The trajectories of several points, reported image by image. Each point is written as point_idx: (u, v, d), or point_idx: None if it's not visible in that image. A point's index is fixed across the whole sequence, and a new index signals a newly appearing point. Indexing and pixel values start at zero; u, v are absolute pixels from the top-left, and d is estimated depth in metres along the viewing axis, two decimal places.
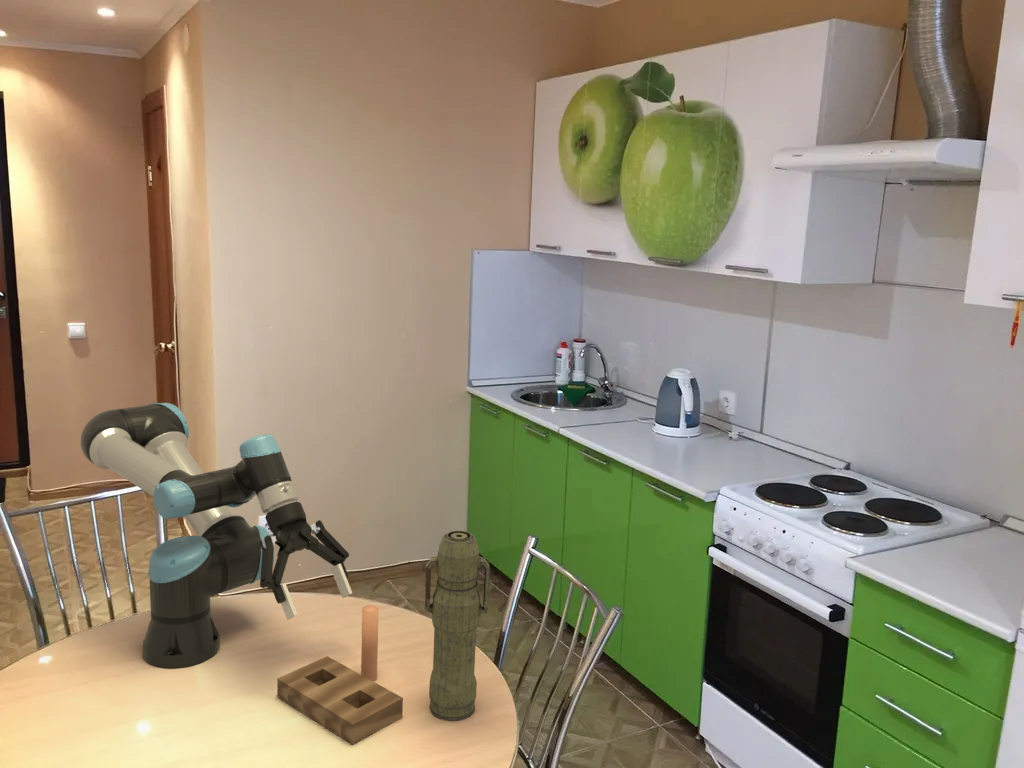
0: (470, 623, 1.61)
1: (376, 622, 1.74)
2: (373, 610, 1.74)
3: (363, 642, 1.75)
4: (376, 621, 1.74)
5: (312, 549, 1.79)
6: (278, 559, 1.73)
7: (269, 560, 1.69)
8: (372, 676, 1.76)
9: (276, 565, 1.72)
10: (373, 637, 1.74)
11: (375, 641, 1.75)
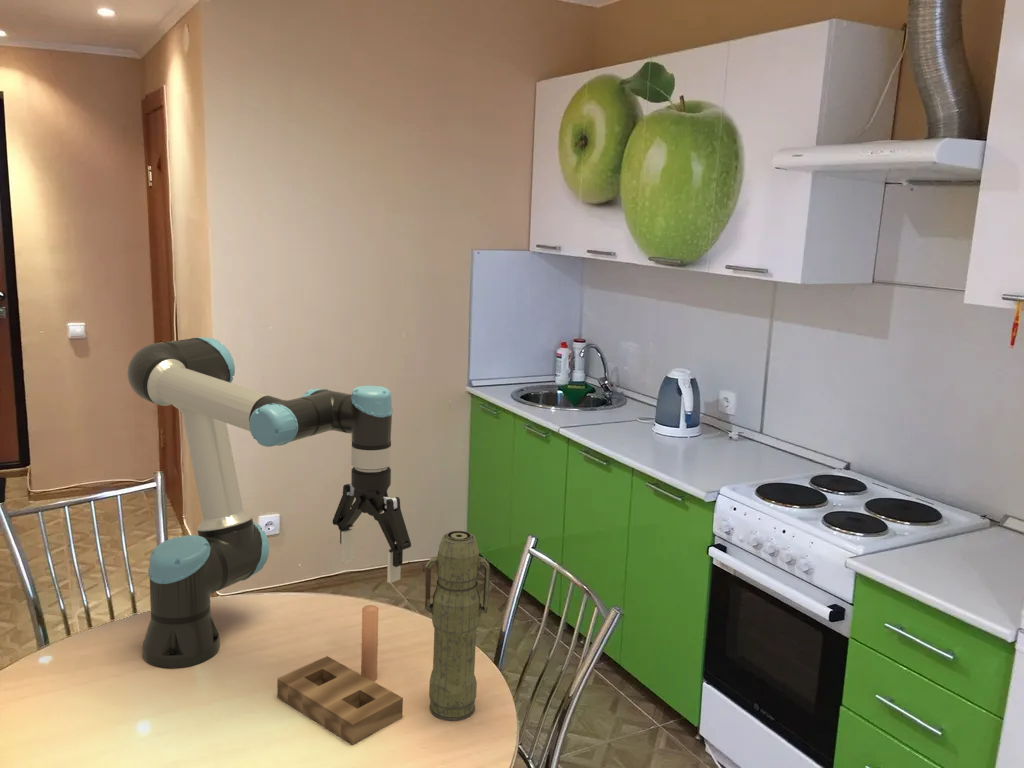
0: (470, 623, 1.61)
1: (376, 622, 1.74)
2: (373, 610, 1.74)
3: (363, 642, 1.75)
4: (376, 621, 1.74)
5: (357, 512, 1.72)
6: (386, 521, 1.67)
7: None
8: (372, 676, 1.76)
9: (388, 527, 1.67)
10: (373, 637, 1.74)
11: (375, 641, 1.75)
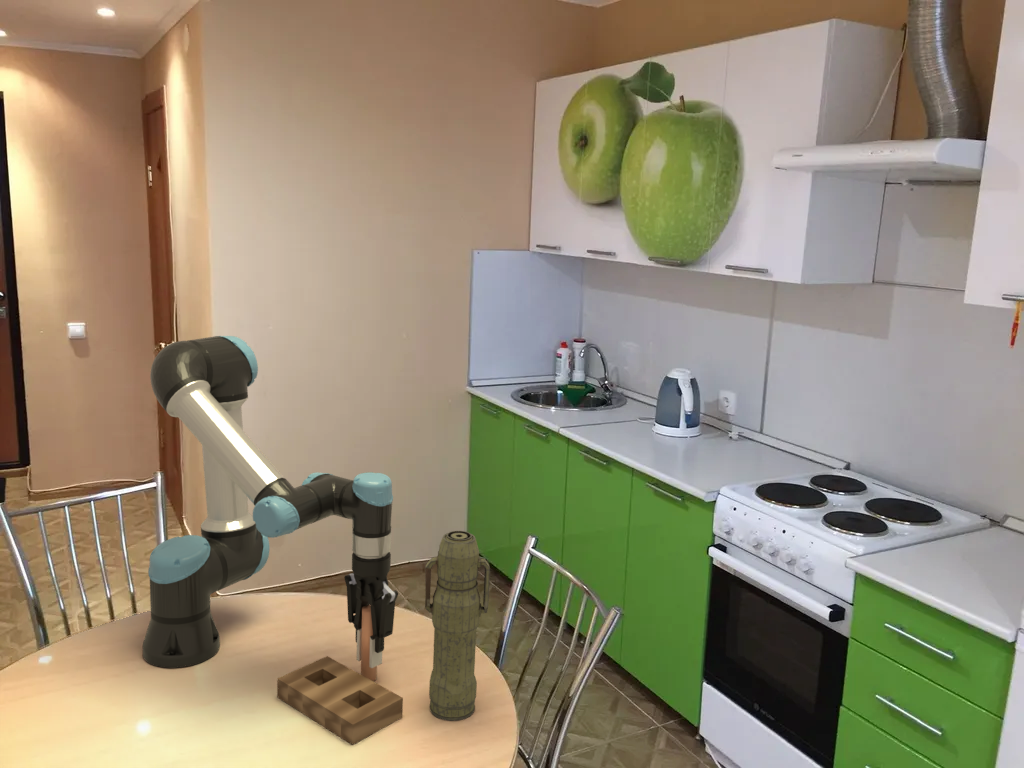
0: (470, 623, 1.61)
1: None
2: None
3: (363, 642, 1.75)
4: None
5: (364, 600, 1.75)
6: (378, 609, 1.72)
7: None
8: (372, 676, 1.76)
9: (378, 615, 1.72)
10: None
11: None
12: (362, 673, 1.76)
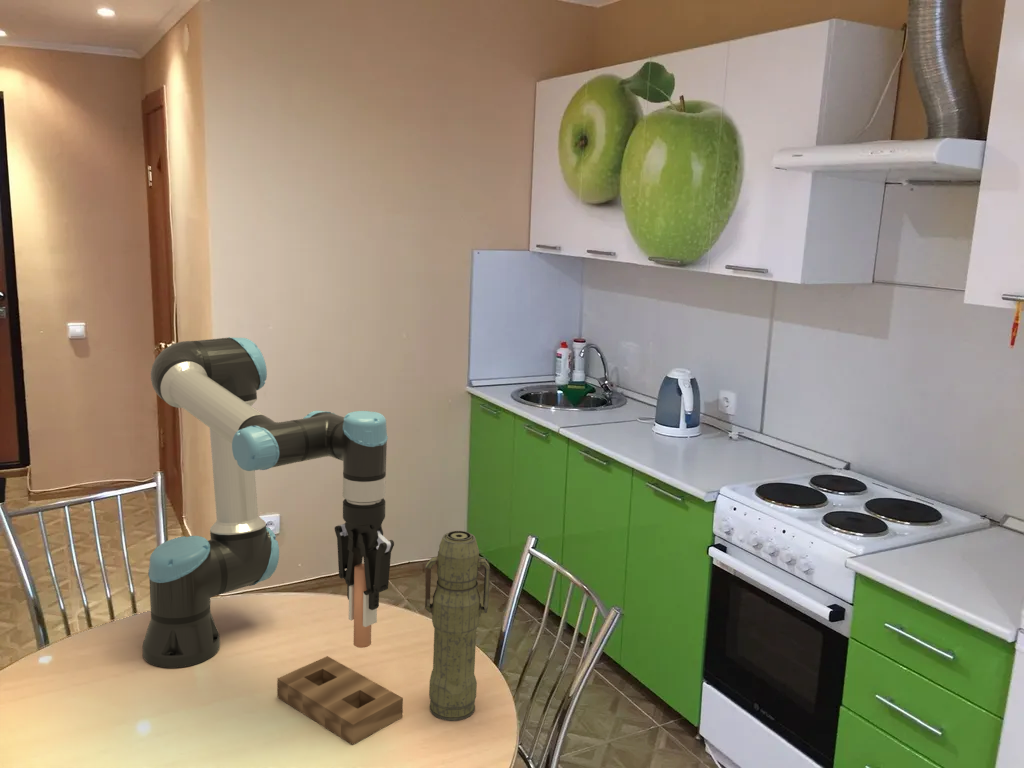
0: (470, 623, 1.61)
1: None
2: None
3: (355, 604, 1.59)
4: None
5: (356, 553, 1.59)
6: (372, 561, 1.57)
7: None
8: (366, 641, 1.61)
9: (372, 568, 1.57)
10: None
11: None
12: (355, 638, 1.61)
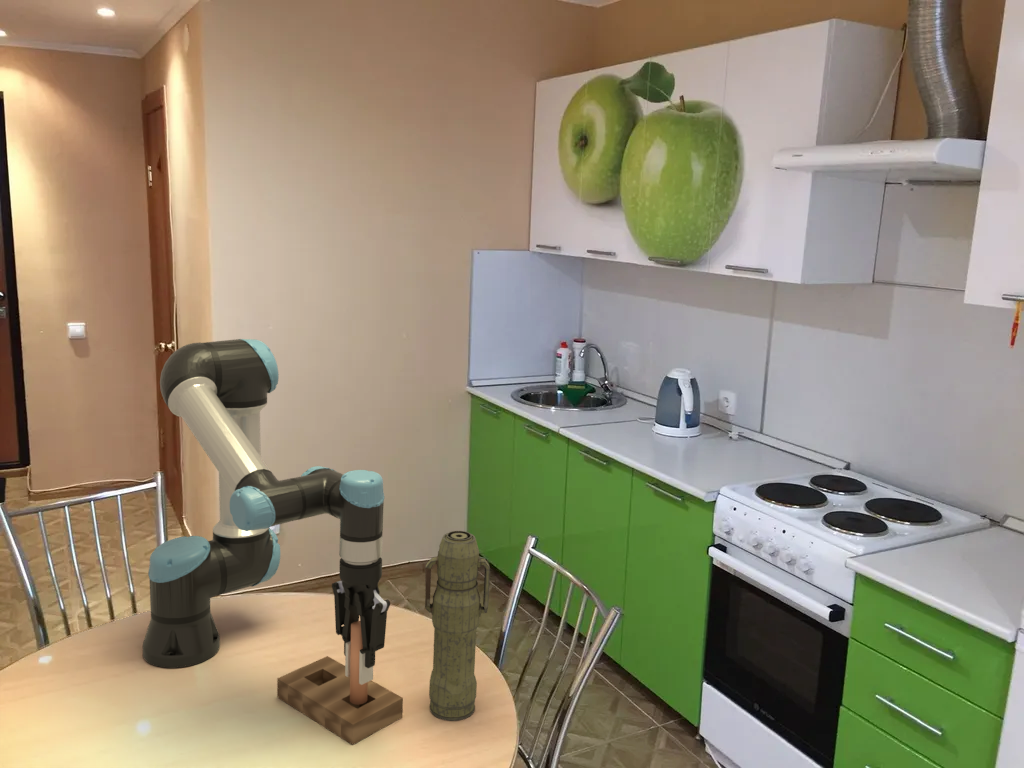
0: (470, 623, 1.61)
1: None
2: None
3: (352, 661, 1.60)
4: None
5: (353, 610, 1.59)
6: (368, 620, 1.57)
7: None
8: (362, 698, 1.61)
9: (368, 627, 1.57)
10: None
11: None
12: (351, 695, 1.61)
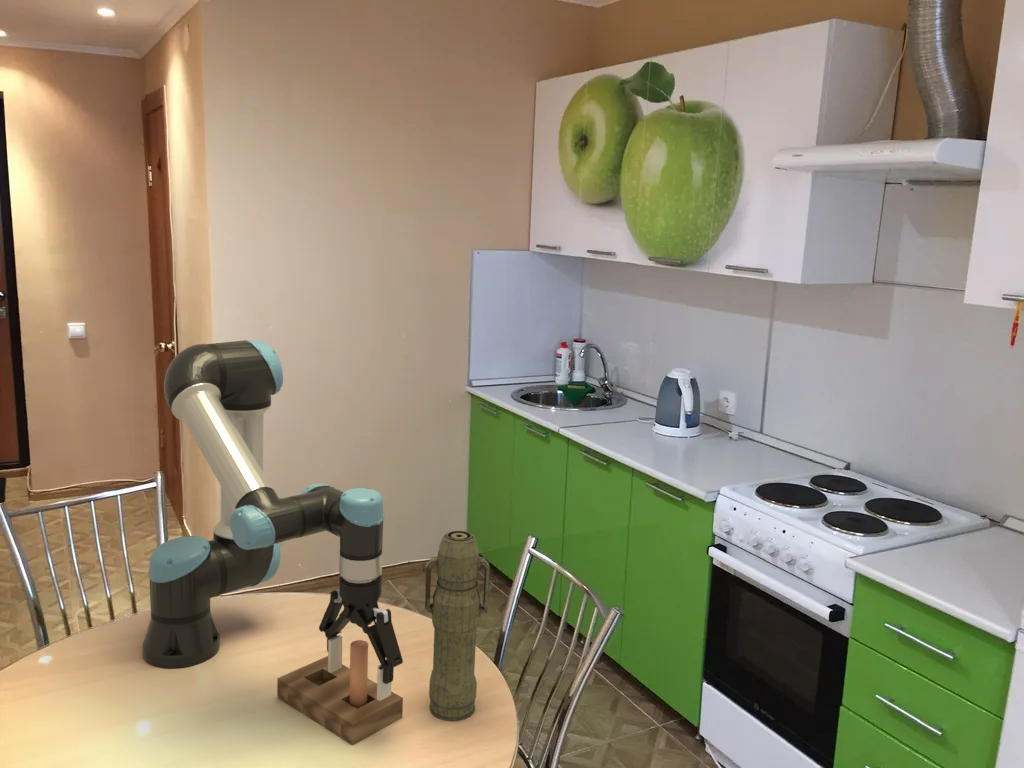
0: (470, 623, 1.61)
1: (365, 659, 1.60)
2: (362, 646, 1.59)
3: (351, 681, 1.60)
4: (365, 658, 1.60)
5: (345, 620, 1.61)
6: (376, 635, 1.56)
7: None
8: None
9: (379, 642, 1.56)
10: (362, 675, 1.60)
11: (364, 679, 1.61)
12: None
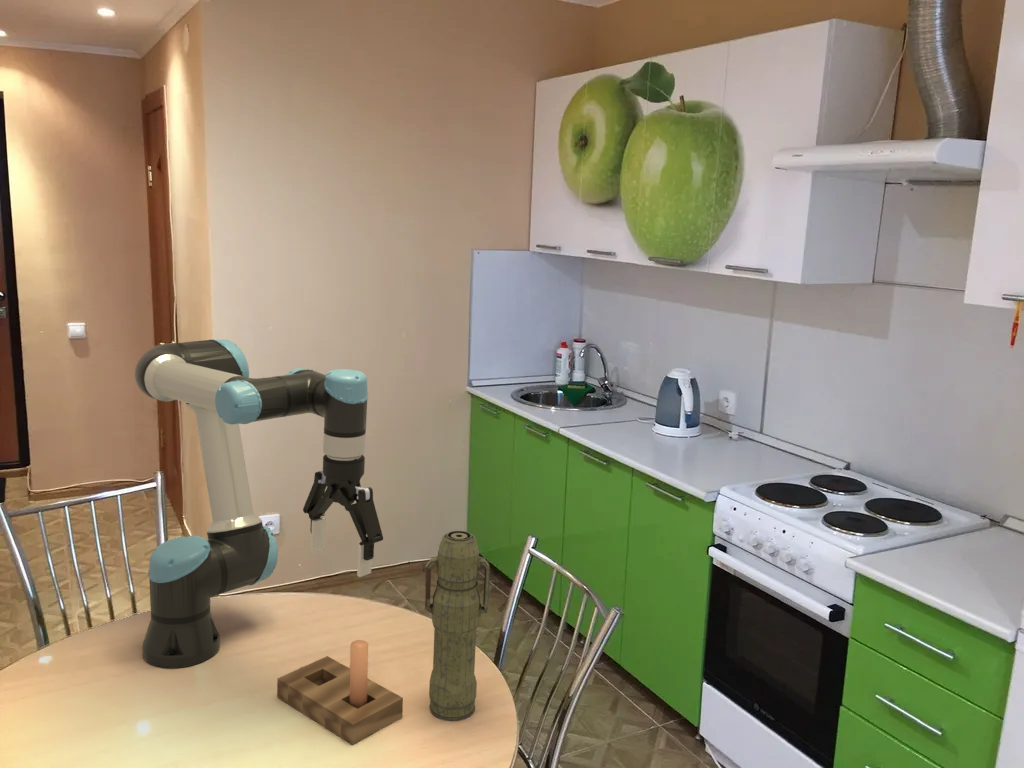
0: (470, 623, 1.61)
1: (365, 659, 1.60)
2: (362, 646, 1.59)
3: (351, 681, 1.60)
4: (365, 658, 1.60)
5: (328, 501, 1.64)
6: (358, 512, 1.59)
7: None
8: None
9: (360, 519, 1.59)
10: (362, 675, 1.60)
11: (364, 679, 1.61)
12: None
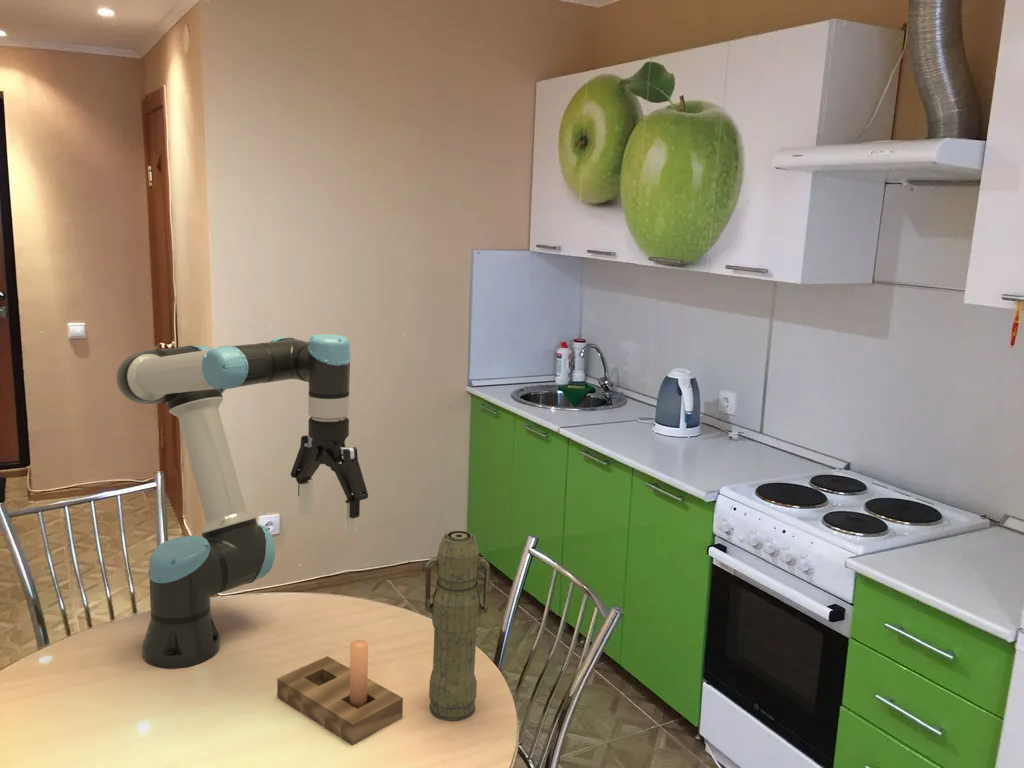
0: (470, 623, 1.61)
1: (365, 659, 1.60)
2: (362, 646, 1.59)
3: (351, 681, 1.60)
4: (365, 658, 1.60)
5: (314, 463, 1.70)
6: (343, 472, 1.65)
7: None
8: None
9: (345, 478, 1.64)
10: (362, 675, 1.60)
11: (364, 679, 1.61)
12: None
